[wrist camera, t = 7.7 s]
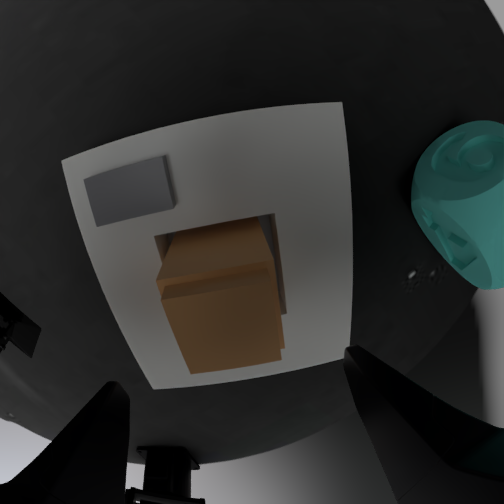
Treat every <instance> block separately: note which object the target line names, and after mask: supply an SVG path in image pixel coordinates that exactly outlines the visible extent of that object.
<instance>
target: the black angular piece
mask: <svg viewBox="0 0 504 504" xmlns="http://www.w3.org/2000/svg"><path fill="white" fill-rule="evenodd" d="M40 332H41V328H40V327H39V326H38V325H37V324H35V323H34V322H33V321H32V320H31V319H29V318H28V317H27V316H26V315H25V314H24V313H22V312H21V311H20V310H19V309H18V308H17V307H16V306H15V305H13V304H12V303H11V302H10V301H9V300H8V299H7V298H6V297H5V296H4V295H3V294H2V293H1V292H0V352H1V351H2V350H3V351H4V350H5V348H6V347H5V345H6V344H7V343H8V341H11V342H12V343H13V344H14V345H15V346H16V347H18V348H19V349H20V350H21V351H22V352H24V353H25V354H26V355H27V356H29V357H30V358H32V355H33V352H34V349H35V346H36V343H37V340H38V338H39V335H40Z"/></svg>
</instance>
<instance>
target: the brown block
mask: <svg viewBox="0 0 504 504" xmlns="http://www.w3.org/2000/svg"><path fill="white" fill-rule="evenodd" d="M156 283H157V286H158V289H159V292H160V295H161V303H162V306H163V308H164V311H165V313H166V316H167V319H168V321H169V324H170V326H171V329H172V331H173V334H174V336H175V339H176V341H177V344H178V346H179V348H180V351H181V353H182V356H183V358H184V360H185V362H186V365H187V367H188V369H189V371H190V374H198V373H206V372H214V371H221V370H228V369H235V368H241V367H247V366H253V365H259V364H264V363H270V362H275V361H280V360H282V357H281V350H280V349H284V348H285V343H284V335H283V327H282V319H281V311H280V303H279V295H278V288H277V280H276V273H275V265H274V259H273V256H272V254H271V251H270V249H269V246H268V243H267V241H266V238H265V236H264V233H263V231H262V228H261V225H260V223H259V220H258V218H257V216H254V217H249V218H243V219H238V220H232V221H227V222H221V223H216V224H211V225H206V226H201V227H195V228H190V229H185V230H180V231H176V233H175V235H174V238H173V240H172V242H171V245H170V247H169V249H168V252H167V254H166V256H165V259H164V261H163V264H162V266H161V268H160V271H159V273H158V276H157V278H156Z"/></svg>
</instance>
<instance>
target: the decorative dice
mask: <svg viewBox="0 0 504 504" xmlns="http://www.w3.org/2000/svg"><path fill="white" fill-rule="evenodd" d="M411 207H412V212H413V214H414V217H415V219H416V221H417V223H418V224H419V226H420V228H421V229H422V231H423V232H424V234H425V235H426V237H427V238H428V239H429V241H430V242H431V243H432V244H433V246H434V247H435V248H436V249H437V251H438V252H439V253H440V254H441V255H442V256H443V258H444V259H445V260H446V261H447V262H448V263H449V264H450V265H451V266H452V267H453V268H454V269H455V270H456V271H457V272H458V273H459V274H460V275H462V276H463V277H464V278H465V279H466V280H468V281H469V282H470V283H472V284H473V285H475V286H477V287H478V288H481V289H498V288H503V287H504V125H503V124H500V123H498V122H494V121H474V122H469V123H465V124H462V125H460V126H457V127H455V128H453V129H451V130H449V131H447V132H446V133H444V134H443V135H441V136H440V137H438V138H437V139H436V140H435V141H434V142H432V143H431V144H430V145H429V146H428V148H427V149H426V150H425V151H424V153H423V154H422V155H421V157H420V159H419V161H418V163H417V166H416V169H415V172H414V176H413V181H412V189H411Z"/></svg>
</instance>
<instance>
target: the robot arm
mask: <svg viewBox="0 0 504 504" xmlns="http://www.w3.org/2000/svg"><path fill="white" fill-rule="evenodd" d="M343 365H344V371H345V374H346V377H347V380H348V383H349V386H350V389H351V393H352V396H353V399H354V402H355V405H356V408H357V410H358V413H359V415H360V417H361V419H362V422H363V424H364V426H365V428H366V430H367V433H368V435H369V437H370V440H371V442H372V444H373V446H374V449H375V451H376V453H377V455H378V458H379V460H380V462H381V464H382V467H383V469H384V472H385V474H386V476H387V479H388V481H389V483H390V485H391V488H392V491H393V493H394V495H395V498H396V500H397V503H398V504H504V428H499V427H495V426H493V425H491V424H488V423H486V422H484V421H482V420H479V419H477V418H475V417H473V416H471V415H469V414H467V413H465V412H463V411H461V410H459V409H457V408H455V407H453V406H451V405H450V404H448V403H446V402H445V401H443V400H441V399H439V398H438V397H437V396H433V394H432V393H430V392H429V391H427V390H426V389H424V388H423V387H421V386H420V385H418V384H416V383H415V382H413V381H412V380H410V379H409V378H407V377H406V376H404V375H403V374H401V373H400V372H398V371H397V370H395V369H394V368H392V367H390V366H389V365H387V364H386V363H384V362H383V361H381V360H380V359H378V358H377V357H375V356H374V355H372V354H371V353H369V352H368V351H366V350H365V349H363V348H362V347H360V346H359V345H352V346H348V347H346V348H345V351H344V363H343ZM129 432H130V399H129V396H128V394H127V392H126V391H125V390H124V388H123V387H122V385H121V384H120V383H119V382H118V381H109V382H107V383H106V384H105V385H104V386H103V387H102V388H101V389H100V390H99V391H98V392H97V393H96V394H95V396H94V397H93V398H92V399H91V400H90V401H89V402H88V403H87V404H86V405H85V406H84V407H83V408H82V409H81V410H80V412H79V413H78V414H77V415H76V416H75V417H74V418H73V419H72V420H71V421H70V422H69V423H68V424H67V425H66V427H65V428H64V429H63V430H62V431H61V432H60V433H59V434H58V435H57V436H56V437H55V438H54V439H53V441H52V442H51V443H50V444H49V445H48V446H47V447H46V448H45V449H44V450H43V451H42V452H41V453H40V454H39V455H38V456H37V457H36V458H35V459H34V460H33V461H32V462H31V463H30V464H29V465H28V466H27V467H25V468H24V469H23V470H22V471H21V472H20V473H19V474H18V475H16V476H15V477H14V478H13V479H12V480H10V481H9V482H7V483H4V484H0V504H205V499H203V498H200V499H196V498H191V470H199V469H200V466H199V465H198V463H197V462H196V461H195V460H194V459H193V457H192V456H191V455H190V454H189V453H188V451H187V450H186V449H184V448H141V447H138V448H137V449H136V451H137V453H139V454H140V455H141V456H142V457H143V458H144V459H145V460H146V463H145V471H144V482H143V490H140V489H136V488H134V487H131V489H126V491H125V483H126V469H127V457H128V447H129ZM136 501H140V503H136Z"/></svg>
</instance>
